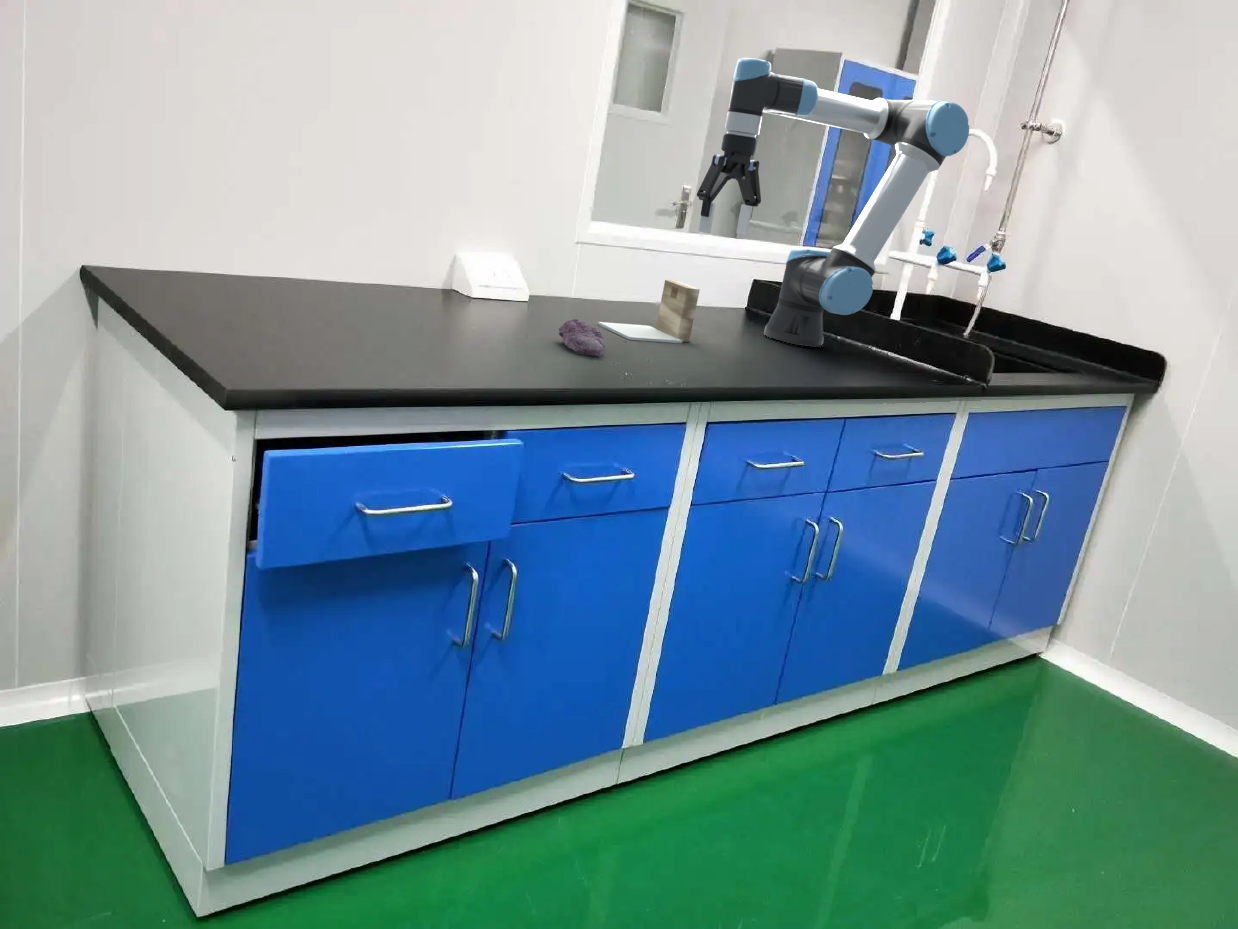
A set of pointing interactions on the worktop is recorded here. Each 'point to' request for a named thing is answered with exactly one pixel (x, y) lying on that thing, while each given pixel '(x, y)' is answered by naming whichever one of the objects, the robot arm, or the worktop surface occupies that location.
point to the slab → (677, 309)
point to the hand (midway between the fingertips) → (723, 233)
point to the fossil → (582, 338)
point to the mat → (639, 332)
